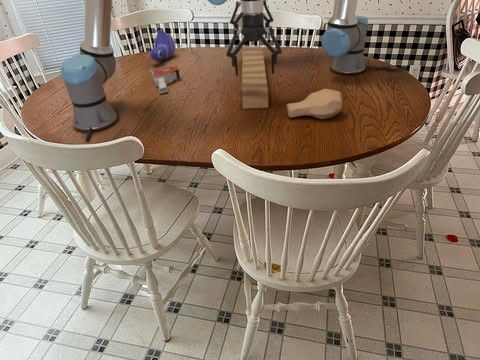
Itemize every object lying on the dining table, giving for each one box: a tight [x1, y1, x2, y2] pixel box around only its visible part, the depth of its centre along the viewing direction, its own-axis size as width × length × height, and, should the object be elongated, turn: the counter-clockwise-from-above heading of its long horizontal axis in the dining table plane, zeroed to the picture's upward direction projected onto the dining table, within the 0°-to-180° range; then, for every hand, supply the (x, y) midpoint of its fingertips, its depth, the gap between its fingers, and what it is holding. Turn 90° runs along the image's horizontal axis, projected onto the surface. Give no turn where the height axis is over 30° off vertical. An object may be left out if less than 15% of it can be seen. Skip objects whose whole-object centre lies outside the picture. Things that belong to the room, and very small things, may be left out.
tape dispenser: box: [149, 65, 181, 94], centre depth 160 cm, size 18×5×20 cm
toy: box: [148, 28, 176, 66], centre depth 186 cm, size 10×17×25 cm
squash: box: [285, 88, 344, 120], centre depth 126 cm, size 11×20×9 cm, turn 92°
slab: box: [241, 45, 269, 110], centre depth 158 cm, size 58×10×7 cm, turn 179°
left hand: (254, 73), depth 135 cm, fingers open, 13 cm apart
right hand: (252, 38), depth 171 cm, fingers open, 13 cm apart
